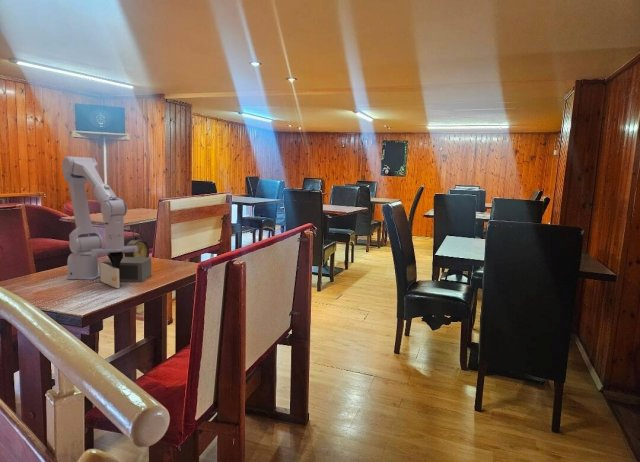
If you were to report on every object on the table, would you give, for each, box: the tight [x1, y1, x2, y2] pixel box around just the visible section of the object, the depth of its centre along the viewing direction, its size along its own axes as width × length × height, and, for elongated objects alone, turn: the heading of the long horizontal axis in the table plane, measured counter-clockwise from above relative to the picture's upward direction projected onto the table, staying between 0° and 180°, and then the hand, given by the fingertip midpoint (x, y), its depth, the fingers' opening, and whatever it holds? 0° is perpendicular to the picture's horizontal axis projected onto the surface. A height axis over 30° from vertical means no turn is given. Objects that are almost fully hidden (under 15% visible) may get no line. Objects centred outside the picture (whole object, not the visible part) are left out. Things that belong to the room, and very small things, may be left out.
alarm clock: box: [123, 229, 150, 258], centre depth 172 cm, size 11×5×16 cm, turn 168°
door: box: [98, 262, 120, 289], centre depth 147 cm, size 14×2×7 cm, turn 50°
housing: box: [101, 256, 152, 283], centre depth 157 cm, size 14×10×7 cm
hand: (115, 274), depth 146 cm, fingers closed, pressing on door
